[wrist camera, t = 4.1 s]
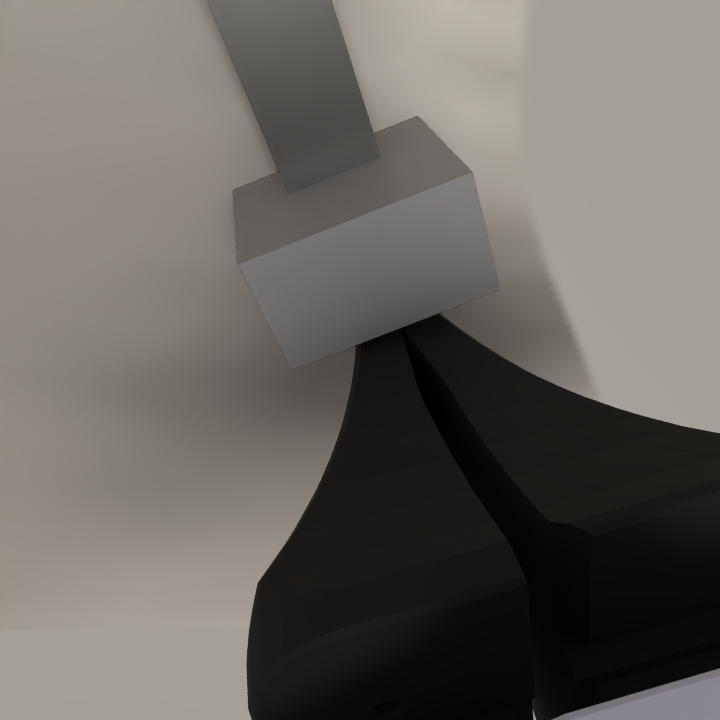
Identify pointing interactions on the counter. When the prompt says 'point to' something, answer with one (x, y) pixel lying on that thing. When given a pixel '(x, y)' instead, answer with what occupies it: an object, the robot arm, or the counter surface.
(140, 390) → the counter surface
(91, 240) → the counter surface
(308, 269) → the plug
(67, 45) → the counter surface
